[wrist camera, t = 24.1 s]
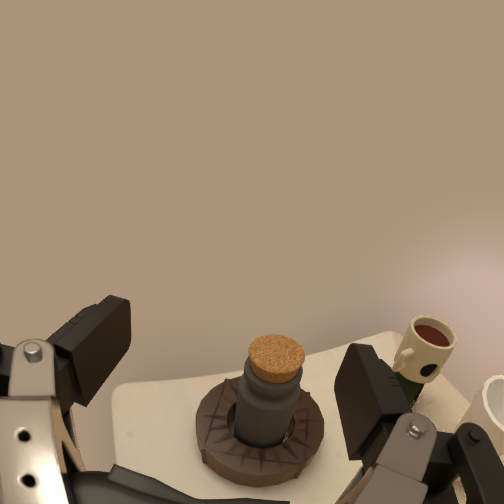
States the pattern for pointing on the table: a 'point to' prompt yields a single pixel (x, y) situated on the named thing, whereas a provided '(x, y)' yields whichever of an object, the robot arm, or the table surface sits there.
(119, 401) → the table surface
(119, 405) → the table surface
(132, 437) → the table surface
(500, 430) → the foam cup
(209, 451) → the stand
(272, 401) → the bottle
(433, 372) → the character mug
